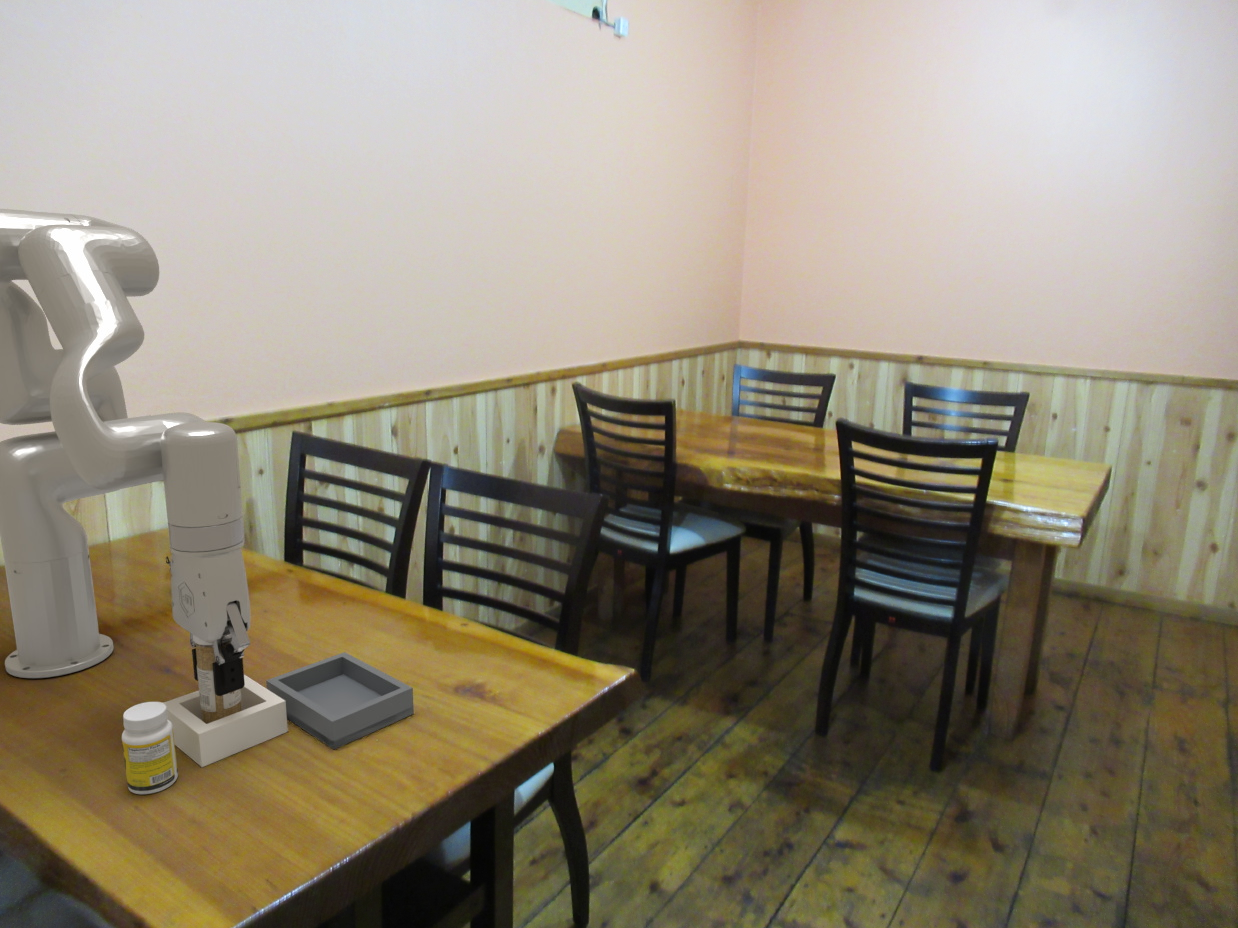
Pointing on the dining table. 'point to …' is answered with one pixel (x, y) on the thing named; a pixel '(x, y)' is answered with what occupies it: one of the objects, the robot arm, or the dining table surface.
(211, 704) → the sprinkles bottle
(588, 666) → the dining table surface
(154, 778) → the supplement bottle
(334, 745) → the charcoal tray
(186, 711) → the frame
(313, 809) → the dining table surface
